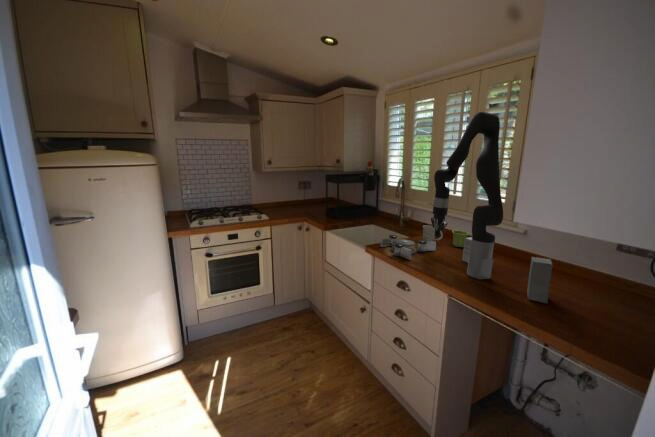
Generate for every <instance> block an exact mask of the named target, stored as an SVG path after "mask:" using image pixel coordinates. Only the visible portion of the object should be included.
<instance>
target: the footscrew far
mask: <svg viewBox="0 0 655 437" xmlns="http://www.w3.org/2000/svg"><path fill="white" fill-rule="evenodd" d="M395 240H398V236H397V235H396V234H389V235H388V236H387V237H381V238H380V247H382V248H383V247H389V246H390V247H392V246H394V245H395Z"/></svg>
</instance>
